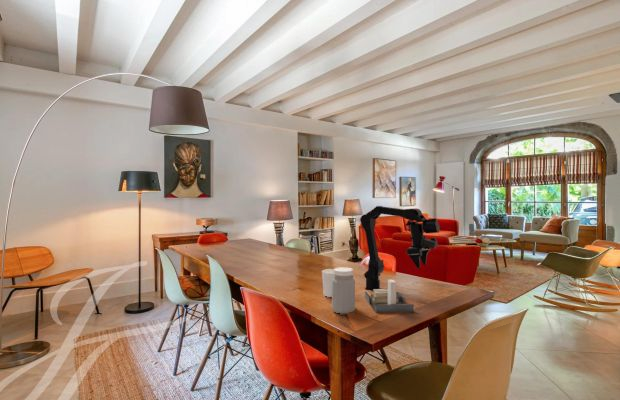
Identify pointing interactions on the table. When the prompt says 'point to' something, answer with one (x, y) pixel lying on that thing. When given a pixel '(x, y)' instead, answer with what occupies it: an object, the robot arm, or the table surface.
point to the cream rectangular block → (391, 292)
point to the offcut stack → (380, 296)
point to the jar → (343, 290)
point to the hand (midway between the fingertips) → (421, 266)
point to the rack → (390, 305)
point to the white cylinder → (327, 281)
